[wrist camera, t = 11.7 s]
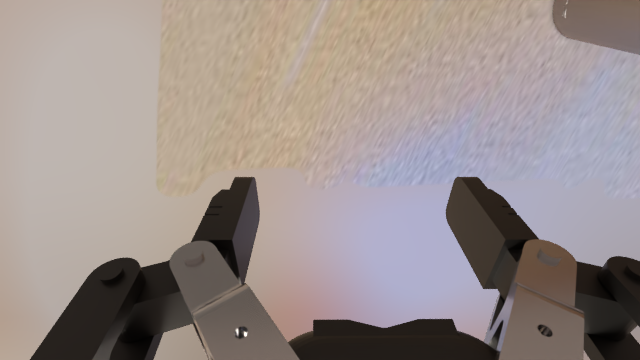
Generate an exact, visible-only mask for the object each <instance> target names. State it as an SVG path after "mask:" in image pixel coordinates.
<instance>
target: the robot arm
mask: <svg viewBox="0 0 640 360" xmlns="http://www.w3.org/2000/svg"><path fill="white" fill-rule="evenodd" d="M553 19H554V23H555V26H556V28H557V30H558V31H559V32H560V33H561V34H562V35H564V36H565V37H567V38H571V39H575V40H579V41H583V42H587V43H591V44H595V45H599V46H603V47H608V48H612V49H617V50H621V51H625V52H630V53H634V54H638V55H640V0H555V1H554V5H553ZM259 212H260V211H259V202H258V195H257V187H256V181H255V178H254V177H235V178H234V180H233V183H232V185H231V188H230V190H221V191H220V192H218V193H217V194H216V195H215V196H214V197H213V198H212V200H211V202H210V204H209V206H208V208H207V210H206V212H205V216H203V218H202V221H201V223H200V225H199V227H198V229H197V231H196V233H195V235H194V237H193V239H192V241H191V243H188V244H185V245H184V246H182V247H180V248H179V249H178V250H176V251H175V252H174V253H173V255H172V257H171V259H170V260H169V261H166V262H162V263H158V264H154V265H150V266H146V267H142V268H141V267H140V265H139V263H138V262H137V261H136V260H135V259H132V258H119V259H114V260H111V261H109V262H106V263H104V264H102V265H101V266H99V267H98V268H96V269H95V270H94V271H93V272H92V273H91V274H90V275H89V276H88V277H87V279H86V280H85V282H84V283H83V285H82V286H81V287H80V289H79V290H78V292H77V293H76V295H75V296H74V297H73V299H72V300H71V302H70V303H69V305H68V306H67V307H66V309H65V310H64V312H63V313H62V315H61V316H60V317H59V319H58V320H57V322H56V323H55V325H54V326H53V327H52V329H51V330H50V332H49V333H48V335H47V336H46V338H45V339H44V340H43V342H42V343H41V345H40V346H39V347H38V349H37V350H36V352H35V353H34V355H33V356H32V357H31V359H30V360H153V359H154V356H155V354H156V351H157V348H158V346H159V343H160V340H161V338H162V335H163V333H164V332H167V331H170V330H173V329H176V328H180V327H183V326H186V325H190V324H192V325H193V327H194V329H195V331H196V333H197V336H198V338H199V340H200V342H201V345H202V347H203V349H204V351H205V354H206V356H207V358H208V360H583V350H584V351H585V352H586V354H587V355H588V357H589V358H590V360H640V344H639V343H638V342H637V341H636V340H635V338H634V337H633V336H632V335H631V333H630V332H631V331H632V330H633V329H634V328H635V327H636V326H637V325H638V326H639V327H640V261H637V260H634V259H631V258H627V257H621V256H616V257H611V258H609V259H608V260H607V262H606V263H605V265H604V266H603V267H600V266H595V265H591V264H586V263H582V262H577V261H576V260H575V259H574V257H573V256H572V255H571V254H570V253H569V252H568V251H567V250H565V249H564V248H562V247H561V246H559V245H557V244H554V243H552V242H549V241H545V240H539V239H538V237H537V236H536V235H535V234H534V233H533V232H532V230H531V229H530V228H529V227H528V226H527V224H526V223H525V222H524V221H523V220H522V219H521V217H520V216H519V215H517V213H516V212H515V210H514V209H513V208H511V206H510V205H509V204H508V202H507V201H506V200H505V199H504V198H503V197H502V196H501V195H499V194H497V193H496V192H494V191H493V190H491V189H488V188H487V187H486V186H485V185H484V184H483V182H482V181H481V180H480V179H479V178H478V177H457V178H456V179H455V180H454V183H453V187H452V190H451V193H450V197H449V200H448V204H447V208H446V219H447V222H448V224H449V226H450V228H451V230H452V232H453V233H454V235H455V237H456V239H457V241H458V243H459V245H460V246H461V248H462V250H463V252H464V254H465V256H466V257H467V259H468V261H469V263H470V265H471V267H472V268H473V271H474V272H475V274H476V276H477V278H478V280H479V282H480V284H481V285H482V287H483V289H498V291H499V292H500V294H499V296H498V298H497V300H496V304H495V307H494V310H493V314H492V317H491V320H490V323H489V327H488V330H487V333H486V336H485V339H484V342H483V341H481V340H479V339H477V338H475V337H473V336H471V335H468V334H466V333H462V332H459V331H457V330H456V327H455V325H454V322H453V320H452V319H417V320H414V321H410V322H407V323H403V324H400V325H395V326H392V327H388V328H381V327H376V326H372V325H368V324H364V323H360V322H355V321H351V320H314V321H313V331H311V332H307V333H305V334H302V335H300V336H298V337H296V338H294V339H292V340H291V341H289V342H287V341H286V339H285V338H284V336H283V335H282V334H281V332H280V331H279V329H278V328H277V326H276V325H275V323H274V322H273V320H272V319H271V317H270V316H269V315H268V313H267V312H266V310H265V309H264V307H263V306H262V305H261V303H260V302H259V300H258V299H257V297H256V296H255V294H254V293H253V291H252V290H251V289H250V287H249V286H248V285H247V284H246V283H244V282H245V278H246V274H247V270H248V265H249V261H250V257H251V253H252V248H253V244H254V240H255V236H256V232H257V228H258V224H259V215H260V213H259Z"/></svg>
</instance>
